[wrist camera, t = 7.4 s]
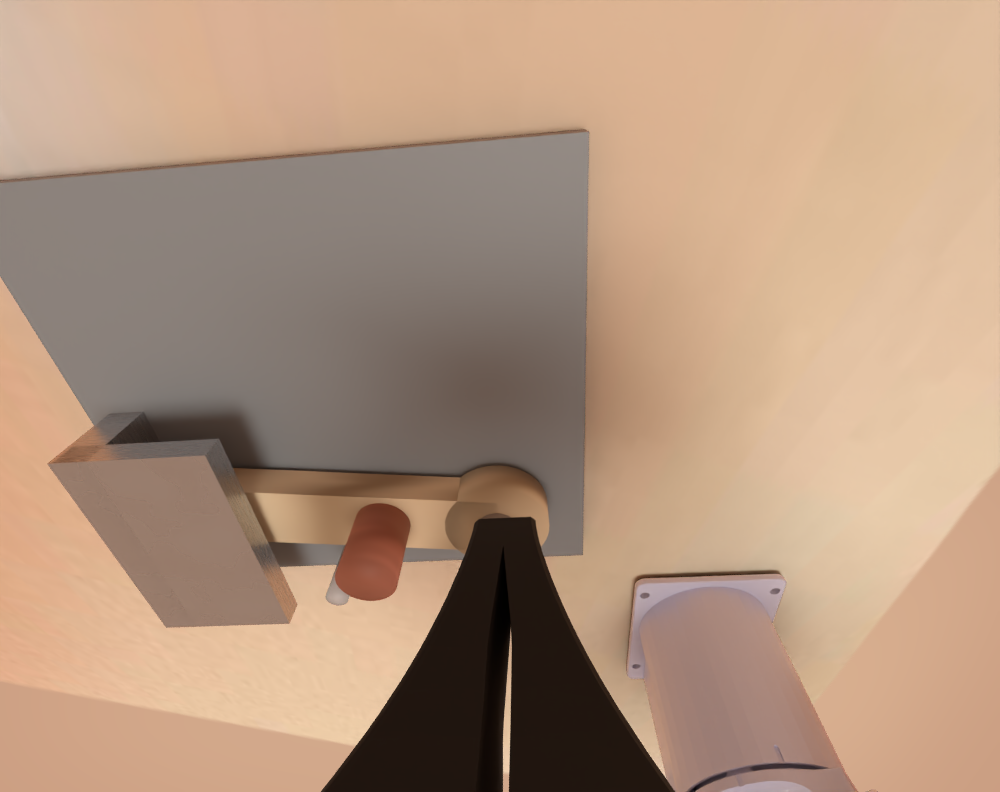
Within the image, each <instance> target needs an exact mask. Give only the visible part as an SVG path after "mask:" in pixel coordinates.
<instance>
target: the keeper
mask: <svg viewBox="0 0 1000 792" xmlns="http://www.w3.org/2000/svg"><path fill="white" fill-rule="evenodd" d="M48 465H49V467H50V468H51V470H52V471H53V472H54V474H55V475H56V476H57V478H58V479H59V481H60V482H61V483H62V485H63V486H64V487H65V489H66V490H67V492H68V493H69V494H70V496H71V497H72V498H73V500H74V501H75V503H76V504H77V505H78V507H79V508H80V509H81V511H82V512H83V514H84V515H85V516H86V518H87V519H88V520H89V522H90V523H91V525H92V526H93V527H94V529H95V530H96V531H97V533H98V534H99V536H100V537H101V538H102V540H103V541H104V542H105V544H106V545H107V547H108V548H109V549H110V551H111V552H112V553H113V555H114V556H115V558H116V559H117V560H118V562H119V563H120V564H121V566H122V567H123V569H124V570H125V571H126V573H127V574H128V575H129V577H130V578H131V580H132V581H133V582H134V584H135V585H136V587H137V588H138V589H139V591H140V592H141V593H142V595H143V596H144V598H145V599H146V600H147V602H148V603H149V604H150V606H151V607H152V609H153V610H154V611H155V613H156V614H157V615H158V617H159V618H160V620H161V621H162V622H163V624H164V625H165V626H166V627H197V626H229V625H260V624H290V621H291V619H292V616H293V614H294V612H295V609H296V607H297V603H296V600H295V598H294V596H293V594H292V592H291V590H290V588H289V586H288V583H287V581H286V579H285V577H284V575H283V573H282V571H281V569H280V567H279V564H278V562H277V560H276V558H275V556H274V554H273V552H272V550H271V548H270V545H269V543H268V541H267V539H266V537H265V535H264V533H263V531H262V529H261V526H260V524H259V522H258V520H257V518H256V516H255V514H254V512H253V510H252V507H251V505H250V503H249V501H248V499H247V497H246V495H245V493H244V490H243V488H242V486H241V484H240V482H239V480H238V478H237V476H236V474H235V471H234V469H233V467H232V465H231V463H230V461H229V459H228V457H227V455H226V452H225V450H224V448H223V446H222V444H221V442H220V440H219V439H206V440H187V441H169V442H160V440H159V438H158V437H157V435H156V433H155V431H154V429H153V428H152V426H151V424H150V422H149V420H148V419H147V417H146V415H145V413H144V412H127V413H110V414H108V415H107V416H106V417H105V418H104V419H102V420H101V421H100V422H99V423H97V424H96V425H95V426H94V427H92V428H91V429H90V430H89V431H87V432H86V433H85V434H84V435H82V436H81V437H80V438H79V439H77V440H76V441H75V442H74V443H73V444H71V445H70V446H69V447H68V448H66V449H65V450H64V451H63V452H61V453H60V454H59V455H58V456H56V457H55V458H54V459H53V460H51V461H50V462H49V463H48Z"/></svg>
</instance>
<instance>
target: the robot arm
mask: <svg viewBox="0 0 1000 792" xmlns="http://www.w3.org/2000/svg"><path fill="white" fill-rule="evenodd" d="M785 586H786V581H785V579H784V577H783V576H782V575H780V574H755V575H727V576H699V577H671V578H644V579H640V580H638V581H637V582H636V584H635V589H634V599H633V609H632V619H631V629H630V639H629V648H628V658H627V668H626V671H627V675H628V677H629V678H631V679H644V682H645V686H646V690H647V695H648V699H649V704H650V708H651V713H652V717H653V721H654V726H655V730H656V735H657V739H658V743H659V748H660V752H661V757H662V761H663V765H664V770H665V774H666V778H667V779H666V778H665V776H664V775H663V774H662V772H661V771H660V769H659V768H658V767H657V765H656V764H655V762H654V761H653V760H652V758H651V757H650V755H649V754H648V752H647V751H646V749H645V748H644V746H643V745H642V743H641V742H640V740H639V739H638V737H637V736H636V734H635V733H634V731H633V730H632V728H631V726H630V725H629V723H628V722H627V720H626V719H625V717H624V716H623V714H622V713H621V711H620V710H619V708H618V707H617V705H616V703H615V702H614V700H613V698H612V697H611V695H610V693H609V692H608V690H607V688H606V687H605V685H604V683H603V682H602V680H601V678H600V677H599V675H598V673H597V671H596V669H595V668H594V666H593V664H592V662H591V661H590V659H589V657H588V655H587V653H586V651H585V649H584V648H583V646H582V644H581V642H580V640H579V638H578V636H577V634H576V632H575V630H574V628H573V626H572V624H571V622H570V619H569V617H568V615H567V613H566V611H565V609H564V607H563V604H562V602H561V600H560V597H559V595H558V592H557V590H556V588H555V585H554V583H553V580H552V578H551V575H550V573H549V570H548V567H547V564H546V561H545V558H544V555H543V552H542V549H541V545H540V542H539V538H538V533H537V528H536V520H535V519H533V518H532V517H511V518H488V519H478V520H477V521H476V522H475V523H474V527H473V531H472V535H471V538H470V541H469V544H468V547H467V550H466V553H465V555H464V558H463V560H462V563H461V566H460V568H459V571H458V573H457V575H456V577H455V580H454V582H453V584H452V587H451V589H450V591H449V593H448V596H447V598H446V600H445V602H444V604H443V606H442V608H441V610H440V612H439V614H438V616H437V618H436V620H435V622H434V624H433V626H432V628H431V630H430V631H429V633H428V635H427V637H426V639H425V641H424V643H423V644H422V646H421V648H420V650H419V652H418V653H417V655H416V657H415V658H414V660H413V662H412V664H411V665H410V667H409V668H408V670H407V672H406V673H405V675H404V677H403V678H402V680H401V682H400V683H399V685H398V686H397V688H396V689H395V691H394V692H393V694H392V695H391V697H390V698H389V700H388V701H387V703H386V704H385V706H384V707H383V709H382V710H381V712H380V713H379V715H378V716H377V718H376V719H375V721H374V722H373V724H372V725H371V726H370V728H369V729H368V731H367V732H366V733H365V735H364V736H363V737H362V739H361V740H360V741H359V743H358V744H357V745H356V747H355V748H354V749H353V751H352V752H351V753H350V755H349V756H348V757H347V759H346V760H345V761H344V763H343V764H342V765H341V767H340V768H339V769H338V771H337V772H336V773H335V775H334V776H333V777H332V778H331V780H330V781H329V782H328V783H327V785H326V786H325V787H324V788H323V790H322V791H321V792H503V724H504V709H505V696H506V683H507V670H508V657H509V644H510V630H511V636H512V678H511V733H510V772H509V792H858V791H857V789H856V788H855V786H854V785H853V783H852V782H851V780H850V779H849V777H848V775H847V774H846V772H845V770H844V768H843V766H842V764H841V762H840V760H839V758H838V756H837V754H836V752H835V750H834V748H833V746H832V743H831V741H830V739H829V737H828V735H827V733H826V731H825V729H824V727H823V725H822V723H821V721H820V719H819V717H818V715H817V713H816V711H815V709H814V707H813V705H812V703H811V701H810V699H809V697H808V695H807V693H806V691H805V689H804V687H803V685H802V682H801V680H800V678H799V676H798V674H797V672H796V670H795V668H794V666H793V664H792V662H791V660H790V658H789V656H788V654H787V652H786V650H785V648H784V646H783V644H782V642H781V640H780V638H779V636H778V634H777V632H776V630H775V628H774V626H773V624H772V623H773V620H774V618H775V615H776V612H777V609H778V606H779V603H780V601H781V598H782V595H783V592H784V589H785ZM867 792H878V791H876V790H869V791H867Z"/></svg>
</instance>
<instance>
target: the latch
mask: <svg viewBox="0 0 1000 792" xmlns="http://www.w3.org/2000/svg"><path fill="white" fill-rule="evenodd" d="M233 469H234V471H235V474H236V476H237V478H238V480H239V482H240V484H241V486H242V488H243V490H244V493H245V495H246V497H247V499H248V501H249V503H250V505H251V507H252V510H253V512H254V514H255V516H256V518H257V520H258V522H259V524H260V526H261V529H262V531H263V533H264V535H265V537H266V539H267V541H268V542H285V543H309V544H333V545H346V546H345V548H344V551H343V554H342V557H341V559H340V562H339V565H338V568H337V571H336V573H335V581H336V584H337V585H338V587H339V588H340V589H341V590H342V591H343V592H344V593H346V594H347V595H349V596H351V597H354V598H357V599H361V600H367V601H375V600H381V599H385V598H387V597H389V596H390V595H392V594H393V593H394V592H395V590H396V588H397V584H398V580H399V575H400V571H401V567H402V562H403V558H404V553H405V549H406V548H429V549H454V550H459V551H460V552H461V553H463V554H465V553H466V550H467V547H468V544H469V541H470V538H471V535H472V531H473V527H474V523H475V522H476V521H477V520H478V519H488V518H511V517H532V518H533V519H535V520H536V528H537V533H538V538H539V542H540V545H541V546H542V545H543V544H544V542H545V541H546V539H547V536H548V533H549V515H548V504H547V496H546V493H545V491H544V489H543V487H542V486H541V484H540V483H539V482H538V481H537V480H536V479H535V478H534V477H533V476H531V475H530V474H528V473H526V472H524V471H522V470H520V469H517V468H513V467H509V466H500V465H493V466H485V467H480V468H477V469H474V470H472V471H470V472H468V473H466V474H464V475H463V476H462V477H460V478H459V477H435V476H411V475H388V474H364V473H341V472H317V471H293V470H270V469H246V468H233Z"/></svg>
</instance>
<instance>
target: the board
mask: <svg viewBox="0 0 1000 792" xmlns="http://www.w3.org/2000/svg"><path fill="white" fill-rule="evenodd" d="M588 163H589V132H588V131H587V130H574V131H562V132H551V133H540V134H528V135H517V136H505V137H494V138H483V139H471V140H460V141H448V142H437V143H426V144H414V145H403V146H391V147H380V148H368V149H357V150H346V151H334V152H323V153H311V154H300V155H289V156H277V157H266V158H254V159H243V160H231V161H220V162H209V163H197V164H186V165H174V166H163V167H152V168H140V169H129V170H117V171H106V172H95V173H83V174H72V175H60V176H49V177H37V178H26V179H15V180H3V181H0V277H1V278H2V280H3V281H4V283H5V285H6V286H7V288H8V289H9V291H10V293H11V294H12V296H13V297H14V299H15V301H16V302H17V304H18V305H19V307H20V309H21V310H22V312H23V313H24V315H25V316H26V318H27V320H28V321H29V323H30V324H31V326H32V328H33V329H34V331H35V332H36V334H37V336H38V337H39V339H40V340H41V342H42V344H43V345H44V347H45V348H46V350H47V351H48V353H49V355H50V356H51V358H52V359H53V361H54V363H55V364H56V366H57V367H58V369H59V371H60V372H61V374H62V375H63V377H64V378H65V380H66V382H67V383H68V385H69V386H70V388H71V390H72V391H73V393H74V394H75V396H76V398H77V399H78V401H79V402H80V404H81V406H82V407H83V409H84V410H85V412H86V413H87V415H88V417H89V418H90V420H91V421H92V423H93V425H94V426H95V425H96V424H97V423H99V422H100V421H101V420H102V419H104V418H105V417H106V416H107V415H108V414H110V413H127V412H144V413H145V415H146V417H147V419H148V420H149V422H150V424H151V426H152V428H153V429H154V431H155V433H156V435H157V437H158V438H159V440H160V442H169V441H187V440H206V439H219V440H220V442H221V444H222V446H223V448H224V450H225V452H226V455H227V457H228V459H229V461H230V463H231V465H232V467H233V468H246V469H270V470H293V471H317V472H341V473H364V474H388V475H411V476H435V477H459V478H460V477H462V476H463V475H464V474H466V473H468V472H470V471H472V470H474V469H477V468H480V467H485V466H493V465H500V466H509V467H513V468H517V469H520V470H522V471H524V472H526V473H528V474H530V475H531V476H533V477H534V478H535V479H536V480H537V481H538V482H539V483H540V484H541V486H542V487H543V489H544V491H545V493H546V496H547V504H548V515H549V533H548V536H547V539H546V541H545V542H544V544H543V545H542V546H541V549H542V552H543V555H544V557H545V556H571V555H583V507H584V438H585V369H586V301H587V232H588ZM268 543H269V545H270V548H271V550H272V552H273V554H274V556H275V558H276V560H277V562H278V564H279V567H287V566H313V565H337V567H336V570H335V572H334V575H333V578H332V581H331V583H330V586H329V589H328V591H327V594H326V600H327V601H328V602H329V603H331V604H334V605H344V604H346V603H347V602H348V599H349V595H347V594H346V593H344V592H343V591H342V590H341V589H340V588H339V587H338V585H337V584H336V581H335V573H336V571H337V568H338V565H339V562H340V559H341V557H342V554H343V551H344V548H345V546H346V545H333V544H309V543H285V542H268ZM464 555H465V554H463V553H461V552H460V551H459V550H454V549H429V548H406V549H405V553H404V558H403V562H416V561H442V560H463V558H464Z"/></svg>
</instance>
